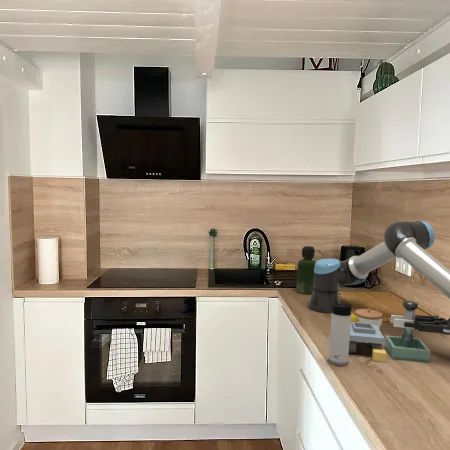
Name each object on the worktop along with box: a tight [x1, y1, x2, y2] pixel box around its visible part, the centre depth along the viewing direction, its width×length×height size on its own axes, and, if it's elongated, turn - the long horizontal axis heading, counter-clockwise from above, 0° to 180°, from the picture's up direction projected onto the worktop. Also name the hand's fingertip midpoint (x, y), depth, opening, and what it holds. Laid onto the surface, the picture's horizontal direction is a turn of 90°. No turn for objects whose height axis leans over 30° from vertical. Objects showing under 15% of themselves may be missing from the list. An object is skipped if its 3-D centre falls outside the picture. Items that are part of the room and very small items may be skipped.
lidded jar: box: [354, 308, 384, 329], centre depth 173 cm, size 11×11×9 cm
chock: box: [371, 348, 388, 363], centre depth 145 cm, size 3×4×3 cm
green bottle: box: [295, 245, 317, 295], centre depth 232 cm, size 10×10×25 cm
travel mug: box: [328, 303, 353, 367], centre depth 141 cm, size 6×7×20 cm
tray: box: [384, 335, 431, 363], centre depth 151 cm, size 12×12×4 cm
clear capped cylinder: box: [401, 300, 419, 347], centre depth 150 cm, size 5×5×16 cm
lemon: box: [351, 312, 357, 323], centre depth 171 cm, size 6×6×8 cm
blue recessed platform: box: [349, 322, 385, 354], centre depth 154 cm, size 14×12×8 cm
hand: (392, 320), depth 151 cm, fingers closed on clear capped cylinder, 3 cm apart
